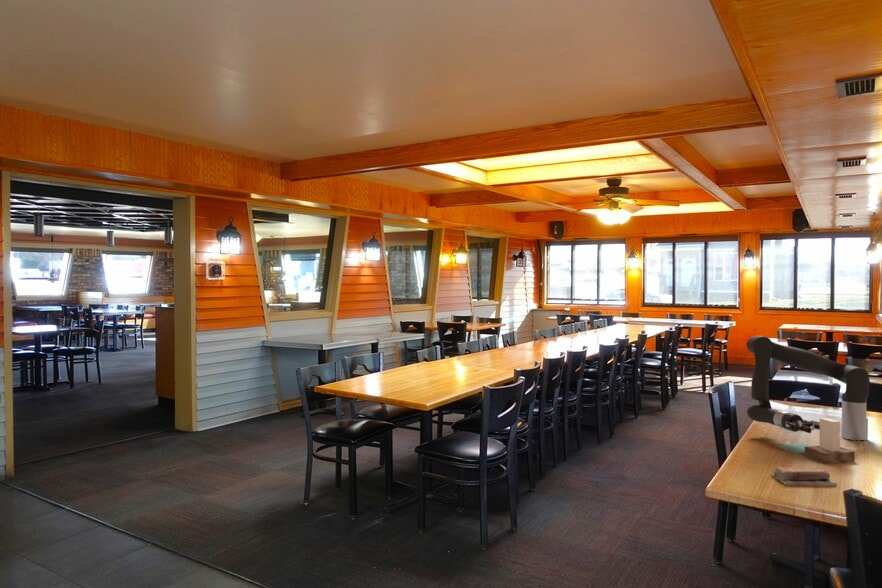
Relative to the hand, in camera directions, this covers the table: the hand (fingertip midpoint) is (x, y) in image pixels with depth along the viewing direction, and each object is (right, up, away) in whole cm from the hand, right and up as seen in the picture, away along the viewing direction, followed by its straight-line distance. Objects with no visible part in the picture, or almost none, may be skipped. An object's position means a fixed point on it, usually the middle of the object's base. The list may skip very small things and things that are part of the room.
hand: (819, 430), depth 238 cm
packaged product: (-26, -12, -30) cm, 41 cm away
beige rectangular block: (+1, -7, -4) cm, 8 cm away
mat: (-2, -10, +9) cm, 14 cm away
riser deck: (+1, -11, -4) cm, 12 cm away
